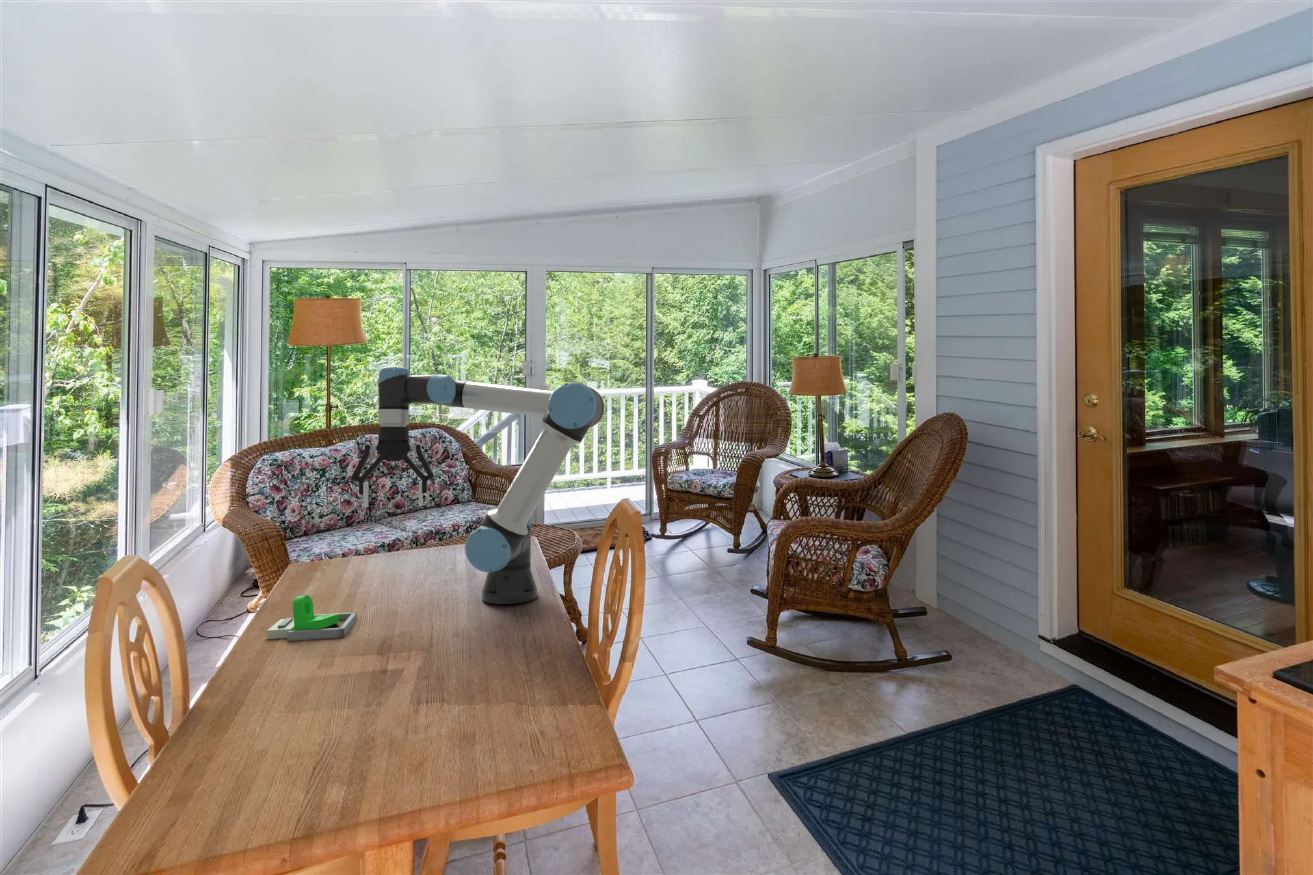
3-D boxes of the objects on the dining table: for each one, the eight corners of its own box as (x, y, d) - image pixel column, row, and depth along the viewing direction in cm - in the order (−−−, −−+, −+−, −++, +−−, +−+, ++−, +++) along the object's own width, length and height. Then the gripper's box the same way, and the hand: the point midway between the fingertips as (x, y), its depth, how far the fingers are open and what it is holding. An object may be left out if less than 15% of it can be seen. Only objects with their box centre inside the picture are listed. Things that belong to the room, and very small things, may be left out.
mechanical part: (320, 628, 155) (317, 594, 156) (294, 632, 155) (292, 597, 156) (343, 620, 167) (340, 588, 168) (319, 624, 167) (316, 591, 168)
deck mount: (356, 619, 171) (356, 609, 171) (343, 637, 156) (343, 626, 156) (283, 624, 167) (283, 614, 167) (263, 642, 152) (263, 631, 152)
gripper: (444, 426, 182) (444, 504, 182) (345, 426, 176) (345, 506, 176) (442, 425, 175) (442, 506, 175) (339, 425, 169) (339, 509, 169)
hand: (393, 506), depth 175 cm, fingers open, 13 cm apart
